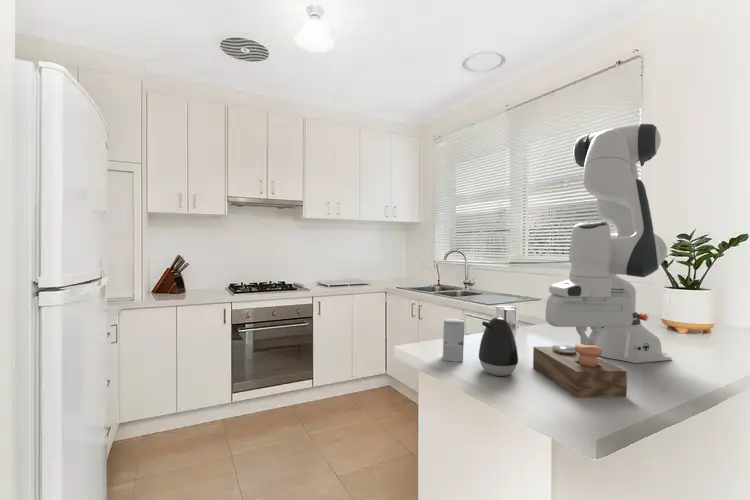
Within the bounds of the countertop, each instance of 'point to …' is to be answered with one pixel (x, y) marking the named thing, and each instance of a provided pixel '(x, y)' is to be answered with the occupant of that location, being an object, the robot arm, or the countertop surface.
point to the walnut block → (580, 374)
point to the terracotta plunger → (588, 354)
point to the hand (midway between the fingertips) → (588, 344)
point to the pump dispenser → (498, 348)
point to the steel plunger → (564, 349)
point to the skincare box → (453, 339)
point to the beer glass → (508, 316)
